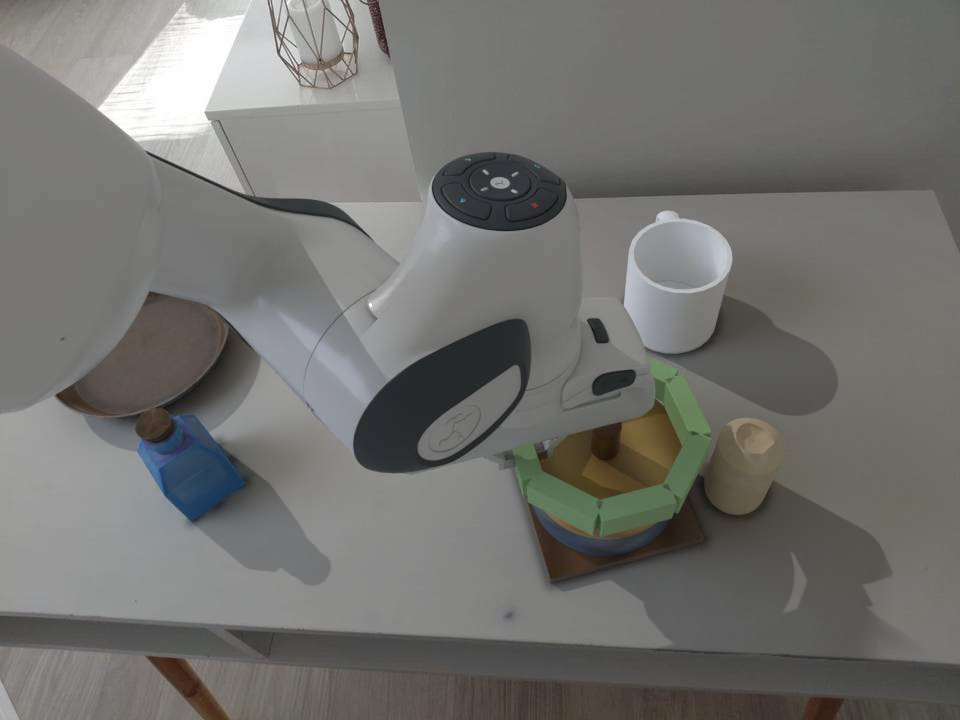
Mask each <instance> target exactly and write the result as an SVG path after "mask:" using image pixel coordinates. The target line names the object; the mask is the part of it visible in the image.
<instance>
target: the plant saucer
mask: <svg viewBox="0 0 960 720" xmlns="http://www.w3.org/2000/svg"><path fill="white" fill-rule="evenodd" d="M229 330H230V328H229V327H228V326H227V325H226V324H225V323H224V322H223V321H222V320H221V318H220V317H219V316H218V315H217V313H216V312H215V311H214V310H213V308H211V307H209V306H207V305H205V304H202V303H199V302H195V301H190V300H186V299H182V298H177V297H173V296H169V295H164V294H160V293H155V292H151V291H149V293H148V295H147V298H146V300H145V302H144V304H143V306H142V308H141V310H140V311H139V313H138V315H137V317H136V318H135V320H134V322H133V323H132V325H131V326H130V328H129V329H128V331H127V332H126V334H125V335H124V336H123V338H122V339H121V340H120V341H119V343H118V344H117V345H116V346H115V348H114V349H113V350H112V351H111V352H110V353H109V355H108V356H107V357H106V358H104V359H103V360H102V361H101V362H100V363H99V364H98V365H97V366H96V367H95V368H94V369H92V370H91V371H90V372H89V373H88V374H86V375H85V376H84V377H82V378H81V379H79V380H78V381H77V382H75V383H74V384H72V385H71V386H69V387H68V388H66V389H64V390H63V391H61V392H59V393H57V394H56V395H54V396H53V397H54V398H55V399H56V400H57V402H58V403H59V404H61V405H62V406H64V407H65V408H66V409H68V410H70V411H72V412H74V413H75V414H79V415H82V416H86V417H91V418H99V419H125V418H132V417H138V416H141V415H142V414H144V413H145V412H146V411H148V410H150V409H155V408H162V409H163V408H165V407H167V406H169V405H171V404H172V403H174V402H176V401H178V400H180V399H181V398H182V397H184V396H186V395H187V394H188V393H189V392H191V391H192V390H193V389H194V388H195V387H197V386H198V385H199V384H200V383H201V382H203V380H204V379H205V378H206V377H207V375H209V373H210V372H211V370H212V369H213V368H214V366H215V365H216V363H217V362H218V360H219V358H220V357H221V355H222V352H223V351H224V348H225V345H226V343H227V339H228V336H229Z"/></svg>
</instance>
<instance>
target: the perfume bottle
mask: <svg viewBox="0 0 960 720" xmlns="http://www.w3.org/2000/svg"><path fill="white" fill-rule="evenodd" d="M134 431H135V433H136V435H137V436H138V437H139V444H138V447H137V451H136V453H137V455H138V456H139V457H140V459H141V461H142V462H143V464H144V465H145V467H146V469H147V470H148V472H149V474H150V475H151V477H152V478H153V480H154V481H155V483H156V485H157V486H158V488H159V490H160V491H161V493H162V494H163V496H164V497H165V498H166V499H167V500H168V501H169V502H170V503H171V504H172V505H173V506H174V507H175V508H176V509H177V510H178V511H179V512H180V513H181V514H182V515H183V516H185V518H186V519H188V521H190V522H191V523H194V521H196V520H198V519H199V518H200V517H201V516H203V515H205V514H206V513H207V512H209V511H210V510H212V509H213V508H214V507H216V506H217V505H218V504H220V503H221V502H223V501H224V500H226V499H227V498H229V497H230V496H232V494H235V492H237V491H238V490H240V489H241V488H242V487H244V486H245V485H247V484H246V482H245V480H244V479H243V477H242V476H241V474H240V473H239V472H238V470H237V469H236V467H235V466H234V464H233V463H232V462H231V460H230V459H229V458H228V456H227V455H226V454H225V452H224V451H223V448H221V446H220V445H219V443H218V442H217V440H215V438H214V437H213V436H212V435H211V433H210V432H209V431H208V429H207V428H206V427H205V426H204V424H203V422H201V420H200V419H199V418H198V417H197V416H196V414H194V413H191V414H190V413H189V414H178V415H176V416H174V415H171V414H170V413H169V412H168V411H167V410H166V409H164V408H163V407H162V408H155V409H150V410H148V411H146V412H145V413H144V414H142V415H139V417H138V418H137V420H136V422H135V424H134Z"/></svg>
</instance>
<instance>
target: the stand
mask: <svg viewBox="0 0 960 720" xmlns="http://www.w3.org/2000/svg"><path fill="white" fill-rule="evenodd" d="M681 448H682V445H681V442H680V440H679V438H678V436H677V434H676V431H675V429H674V427H673V425H672V423H671V420H670V418H669V416H668V414H667V412H666V409H665V407H664V405H663V403H661V402H660V400H658V399H656V398H655V402H654V406H653V408H652V409H651V410H649V411H648V412H647V413H646V414H644V415H643V416H641V417H638V418H634V419H630V420H626V421H622V422H618V423H614V424H610V425H606V426H602V427H598V428H594V429H590V430H586V431H582V432H578V433H575V434H571V435H567V437H566V438H565V439H564V440H563V441H562V442H561V443H560V444H558V445H557V446H556V447H555V448H553V457H551V458H546V459H542V460H539V462H540V465H541V468H542V471H544V472H546V473H548V474H550V475H552V476H554V477H556V478H558V479H560V480H562V481H564V482H566V483H568V484H570V485H572V486H574V487H576V488H578V489H580V490H582V491H584V492H586V493H588V494H590V495H592V496H594V497H596V498H598V499H600V500H601V499H605V498H609V497H613V496H617V495H621V494H624V493H628V492H632V491H636V490H640V489H644V488H648V487H652V486H656V485H659V484H663V483H664V481H665V479H666V477H667V475H668V473H669V471H670V469H671V467H672V465H673V463H674V462H675V460H676V458H677V456H678V454H679V452H680V450H681ZM523 498H524V500H525V504H526V507H527V511H528V514H529V517H530V520H531V525H532V527H533V531H534V534H535V538H536V540H537V541H536V542H537V544H538V548H539V551H540V554H541V558H542V561H543V565H544V568H545V571H546V574H547V578H548V581H549V584H554V583H558V582H560V581H565V580H568V579H573V578H576V577H579V576H583V575H587V574H590V573H594V572H595V573H596V572H598V571H602V570H606V569H609V568H613V567H617V566H620V565H624V564H627V563H631V562H632V563H633V562H635V561H640V560H642V559H647V558H651V557H654V556H657V555H661V554H664V553H668V552H672V551H676V550H679V549H683V548H687V547H691V546H694V545H699V544H702V543H703V542H704V540H705V535H704V533H703V531H702V529H701V528H702V527H700V526H701V525H700V524H699V522H698V519H697V517H696V515H695V512H694V511H693V508H692V505H691V503H690V501H689V498H688V496H687V497H686V499H685V501H684V503H683V505H682V507H681V509H680V511H679V513H678V514H677V513H675V512H674V513H673V517H672V519H668V520H664V521H660V522H657V523H653V524H649V525H645V526H641V527H637V528H634V529H630V530H626V531H622V532H618V533H614V534H611V535H607V536H603V537H601V536H600V534H599V531H598V528H597V530H596V531H595V533H594V535H593V536H592V535H590V534H588V533H586V532H584V531H582V530H580V529H578V528H576V527H575V526H573V525H571V524H569V523H567V522H565V521H563V520H561V519H559V518H557V517H555V516H554V515H552V514H550V513H548V512H546V511H544V510H542V509H540V508H538V507H536V506H534V505H533V504H531V503H529V502H528V498H527V496H523Z"/></svg>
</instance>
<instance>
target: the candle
mask: <svg viewBox="0 0 960 720" xmlns="http://www.w3.org/2000/svg"><path fill="white" fill-rule="evenodd" d="M718 434H719V435H718V437H717V440H716V443H715V446H714V449H713V451H712V455H711V458H710V460H709V464H708V467H707V470H706V472H705V475H704V482H703V486H704V487H703V488H704V492H705V495H706V497H707V499H708V501H709V502H710V503H711V504H712V505H713V506H714V507H715V508H716V509H718V510H720V511H721V512H723V513H726V514H729V515H735V516H736V515H737V516H741V515H742V516H743V515H747V514H750V513H752V512H754V511H755V510H756V509H757V508H758V507H760V506H761V504H762V502H763V501H764V500H765V498H766V495H767V494H768V491H769V490H770V487H771V485H772V484H773V481H774V479H775V478H776V476H777V474H778V471H779V470H780V468H781V466H782V464H783V461H784V459H785V456H786V444H785V440H784V439H783V436H782V435H781V434H780V432H779V430H777V429H776V428H775V427H774V426H772V424H770V423H768V422H766V421H764V420H762V419H758V418H755V417H740V418H736V419H733V420H731V421H730V422H728V423H726V424H725V425H724V426H723V427H722V429H721V430H720V432H719V433H718Z"/></svg>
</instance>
